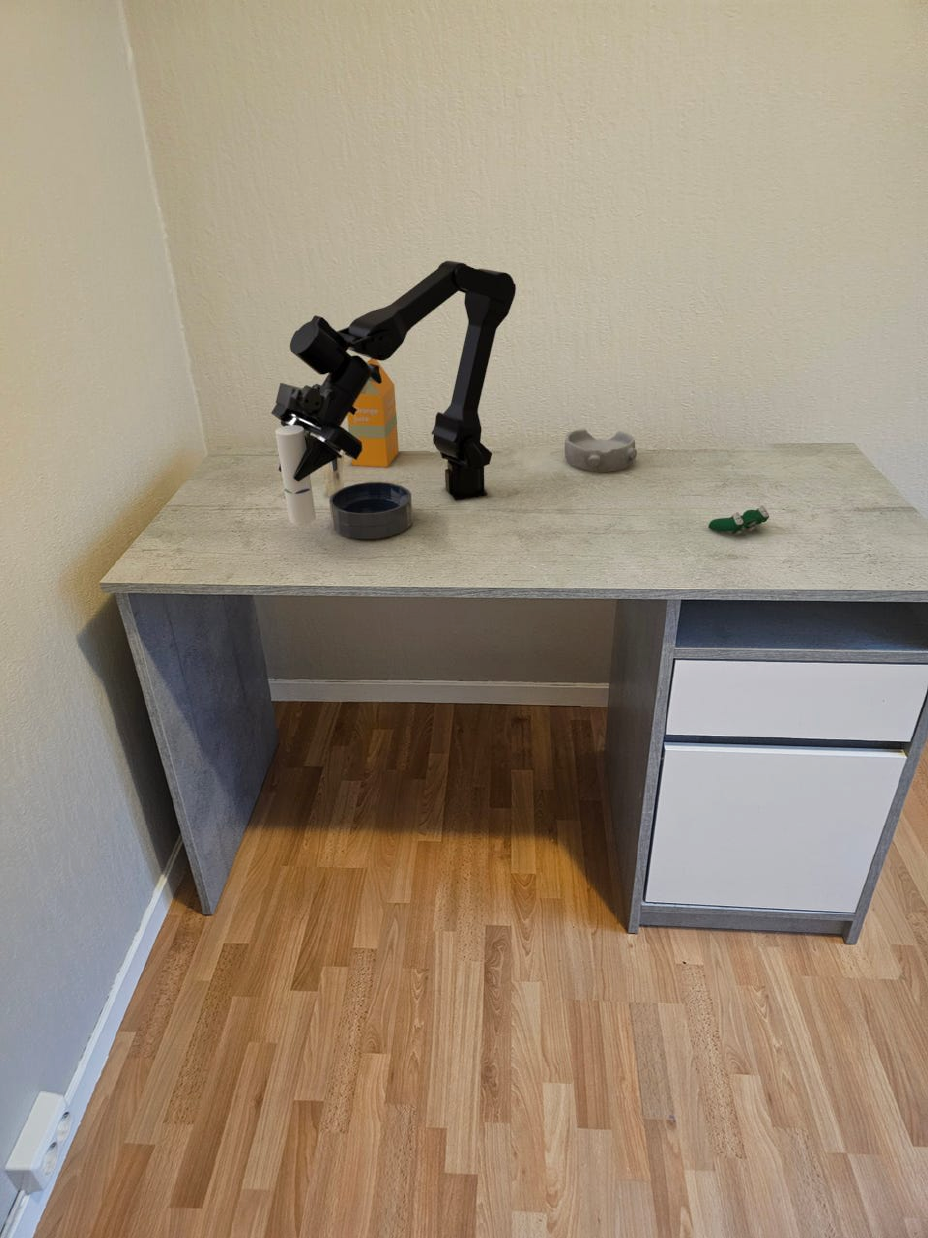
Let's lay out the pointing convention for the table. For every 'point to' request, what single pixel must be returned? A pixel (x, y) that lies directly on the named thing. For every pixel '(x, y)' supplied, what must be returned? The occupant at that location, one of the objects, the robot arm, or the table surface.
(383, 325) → the robot arm
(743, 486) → the table surface
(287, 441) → the tube
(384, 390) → the orange juice
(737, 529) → the green elongated piece
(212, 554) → the table surface
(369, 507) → the bowl
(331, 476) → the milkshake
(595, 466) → the dish
